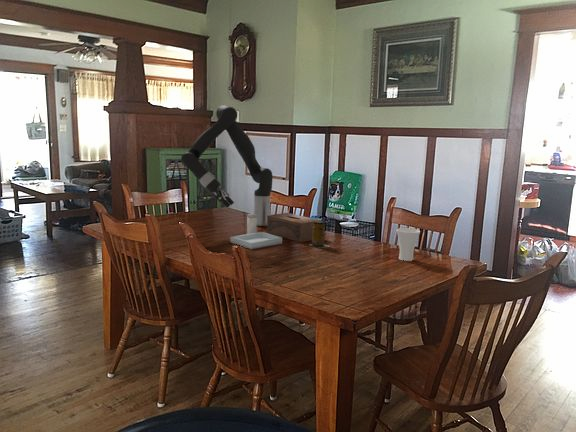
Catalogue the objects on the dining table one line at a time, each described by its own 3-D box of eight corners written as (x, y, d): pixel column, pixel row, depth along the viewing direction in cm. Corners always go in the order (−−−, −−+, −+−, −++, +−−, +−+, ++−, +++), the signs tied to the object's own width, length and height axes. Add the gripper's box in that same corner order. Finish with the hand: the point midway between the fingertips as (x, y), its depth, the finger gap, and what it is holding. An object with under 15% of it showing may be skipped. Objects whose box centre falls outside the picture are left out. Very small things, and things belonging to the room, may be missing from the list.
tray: (261, 237, 258) (261, 231, 257) (282, 243, 247) (282, 237, 246) (230, 242, 244) (230, 236, 244) (250, 249, 233) (250, 243, 233)
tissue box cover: (319, 238, 261) (320, 220, 259) (300, 242, 251) (301, 223, 249) (285, 230, 279) (286, 212, 277) (266, 233, 269) (267, 215, 268)
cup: (401, 263, 219) (403, 233, 216) (390, 256, 229) (392, 228, 226) (422, 262, 221) (424, 232, 219) (410, 255, 231) (412, 227, 229)
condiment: (318, 243, 250) (319, 219, 248) (330, 246, 244) (331, 222, 242) (307, 245, 246) (308, 221, 244) (319, 248, 239) (320, 224, 237)
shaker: (252, 233, 267) (252, 213, 265) (258, 235, 264) (258, 214, 262) (245, 234, 264) (245, 214, 262) (251, 236, 260) (251, 215, 258)
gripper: (211, 179, 254) (232, 202, 254) (218, 176, 268) (238, 198, 268) (201, 188, 255) (222, 212, 256) (208, 185, 269) (229, 207, 270)
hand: (230, 205), depth 262 cm, fingers open, 8 cm apart
